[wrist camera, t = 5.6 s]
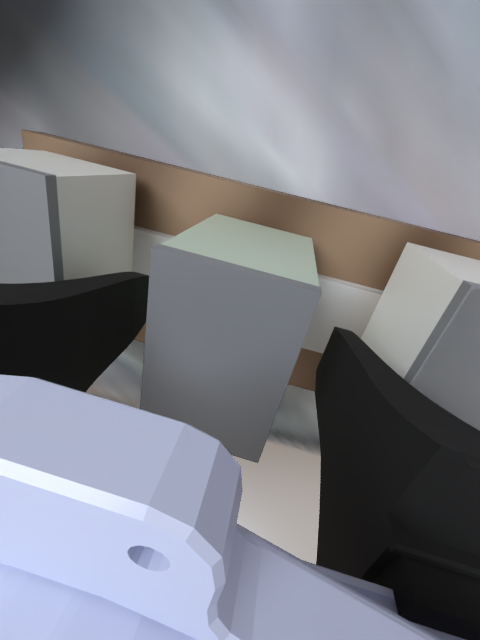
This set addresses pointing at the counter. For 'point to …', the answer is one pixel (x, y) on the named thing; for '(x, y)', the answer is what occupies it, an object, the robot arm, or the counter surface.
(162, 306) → the block
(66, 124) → the counter surface
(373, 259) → the rail board
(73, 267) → the mounted modules
